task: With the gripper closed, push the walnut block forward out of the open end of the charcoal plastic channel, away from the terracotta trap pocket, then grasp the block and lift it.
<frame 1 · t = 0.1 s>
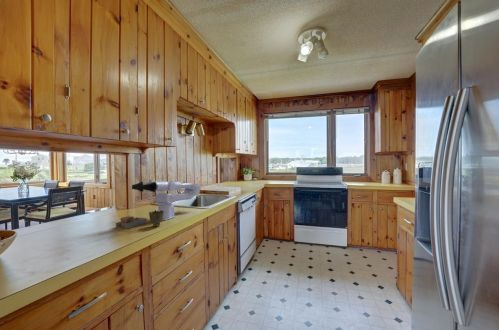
hand: (137, 187, 118), 22 cm above the countertop, tool horizontal, fingers open, 7 cm apart
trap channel: (131, 224, 122), on the countertop
walnut block: (127, 226, 120), on the countertop
cup: (156, 226, 120), on the countertop
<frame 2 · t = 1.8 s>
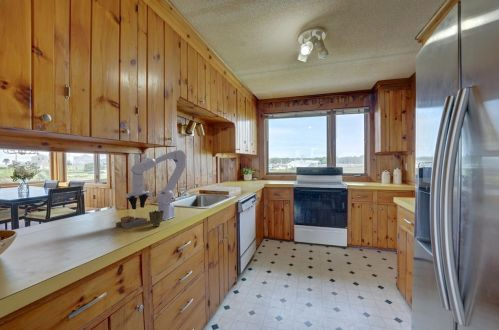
hand: (138, 208, 126), 8 cm above the countertop, tool pointing down, fingers open, 5 cm apart
nothing on the countertop moved.
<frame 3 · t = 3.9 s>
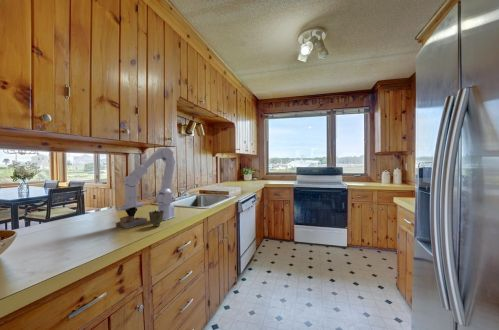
hand: (131, 221, 122), 2 cm above the countertop, tool pointing down, fingers closed, pressing on walnut block
walnut block: (127, 226, 120), on the countertop, touching gripper
everything else where it was.
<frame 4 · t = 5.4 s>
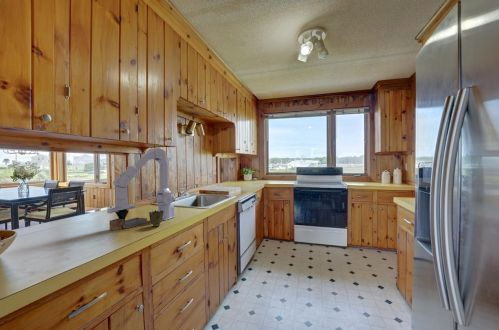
hand: (122, 224, 117), 2 cm above the countertop, tool pointing down, fingers closed
walnut block: (116, 229, 114), on the countertop, touching gripper
everything else where it was.
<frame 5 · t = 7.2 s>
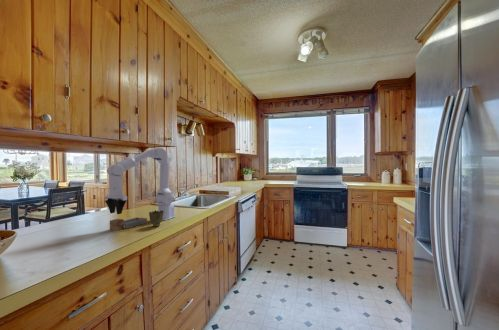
hand: (116, 213, 114), 8 cm above the countertop, tool pointing down, fingers open, 5 cm apart
walnut block: (116, 229, 114), on the countertop
everything else where it was.
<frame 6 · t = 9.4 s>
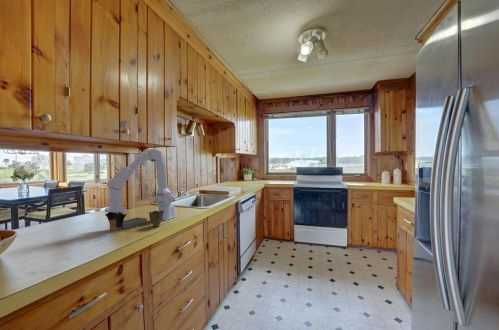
hand: (116, 226, 114), 1 cm above the countertop, tool pointing down, fingers closed on walnut block, 4 cm apart
walnut block: (116, 229, 114), on the countertop, touching gripper
everything else where it was.
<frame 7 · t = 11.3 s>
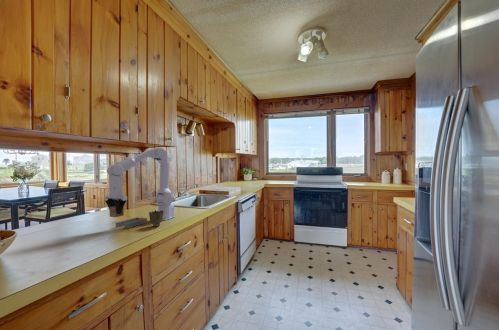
hand: (116, 213, 114), 8 cm above the countertop, tool pointing down, fingers closed on walnut block, 4 cm apart
walnut block: (116, 216, 114), point 7 cm above the countertop, touching gripper
everything else where it was.
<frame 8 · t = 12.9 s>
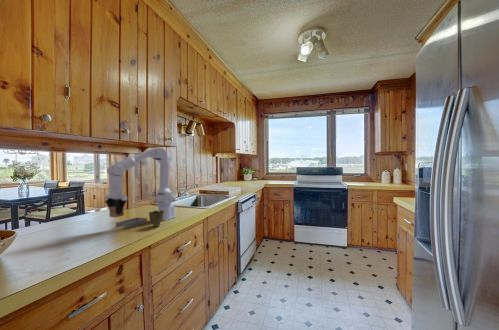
hand: (116, 213, 114), 8 cm above the countertop, tool pointing down, fingers closed on walnut block, 4 cm apart
walnut block: (116, 216, 114), point 7 cm above the countertop, touching gripper
everything else where it was.
at the end: walnut block inside the target area (3.9 cm from its centre), point 7.0 cm above the countertop; the gripper is holding walnut block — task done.
